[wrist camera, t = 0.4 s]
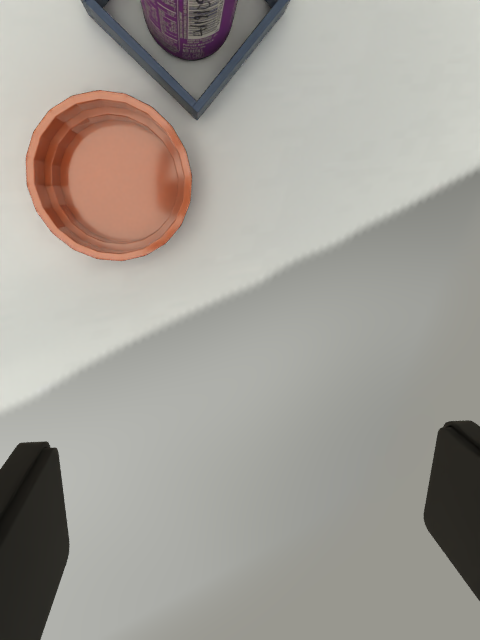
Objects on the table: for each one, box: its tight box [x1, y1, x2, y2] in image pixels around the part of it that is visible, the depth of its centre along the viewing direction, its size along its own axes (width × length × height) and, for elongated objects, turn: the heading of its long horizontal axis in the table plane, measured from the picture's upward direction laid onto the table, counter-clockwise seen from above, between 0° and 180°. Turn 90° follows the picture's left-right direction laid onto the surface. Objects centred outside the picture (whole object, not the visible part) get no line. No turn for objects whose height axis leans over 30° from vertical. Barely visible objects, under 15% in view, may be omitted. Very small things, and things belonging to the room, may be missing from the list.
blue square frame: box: [81, 0, 290, 120], centre depth 31 cm, size 11×11×3 cm
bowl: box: [26, 90, 192, 261], centre depth 33 cm, size 12×12×5 cm
